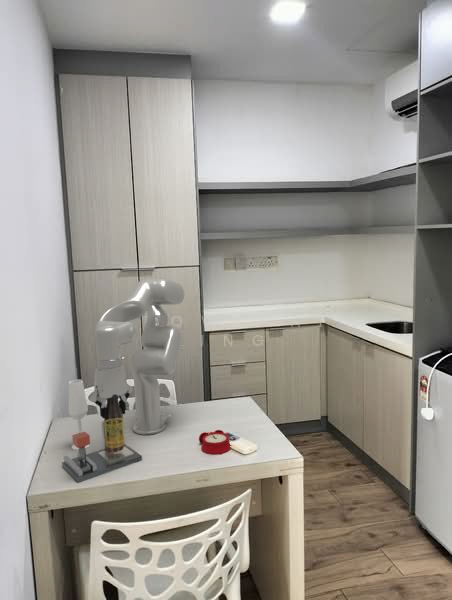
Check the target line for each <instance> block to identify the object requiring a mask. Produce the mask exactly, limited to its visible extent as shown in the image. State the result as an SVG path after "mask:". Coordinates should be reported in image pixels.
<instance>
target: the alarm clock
mask: <svg viewBox="0 0 452 600" xmlns="http://www.w3.org/2000/svg"><path fill="white" fill-rule="evenodd" d="M198 441H199V443H200V444H201V445H200V446H201V447H200V448H201V451H202V452H203V453H205V454H209V455H219V456H220V455H223V454H224V453H227V452H229V451H230V450H231V448H232V444H231V443H230V437H229V435H228V434H227V433H225V432H224V431H223V430H221V429H216V430H215V431H209V432H205V431H204V432H201V433H200V434H199V437H198ZM230 444H231V445H230ZM230 446H231V447H230Z"/></svg>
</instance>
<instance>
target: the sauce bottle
mask: <svg viewBox="0 0 452 600" xmlns="http://www.w3.org/2000/svg"><path fill="white" fill-rule="evenodd" d="M105 407H106V408H107V419H104V418H103V419H104V420H103V421H104V426H105V442H106V450H107V451H108V452H118V451H121V450H122V449H123V448H124V444H125V430H124V428H125V427H124V417H123V416H124V414H122V409H121V408H120V406H119V396H117V394H114V395H112V397H111V398H108V399H107V400H106V406H105Z"/></svg>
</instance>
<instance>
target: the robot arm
mask: <svg viewBox="0 0 452 600" xmlns="http://www.w3.org/2000/svg"><path fill="white" fill-rule="evenodd" d="M184 299H185V289H184V287H183V285H182V284H180V283H178V282H176V281H173V280H170V279H166V278H145V279H141V280H140V281H138V282H137V284H136V285H135V287H134V288H133V289H132V291H131V292H130V294H129V295H128V296H127V298H126V300H124V301H122V302H120V303H118V304H117V305H115V306H112V307H111V308H110V309H108V310H106V311H105V312H104V313H103V314H102V316H101V317H100V319H99V320H97V323H96V326H94V327H95V328H94V337H95V345H96V357H97V368H95V371H94V379H93V380H94V381H93V382H94V383H93V384H94V386H93V388H94V390H93V392H92V394H91V395H90V397H89V398H88V399H89V401H90V402H92V403H94V404H95V405H96V406H98V407H99V414H100V417H101V418H103V419H107V408H106V407H107V406H106V405H107V399H108V398H111V397H112V395H114V394H117V396H118V399H119V400H118V403H119V406H120V408H121V409H122V414H123V415H125V414H126V410H127V406H126V402H127V400H128V398H129V397H130V396H131V394H132V392H133V391H134V400H135V401H134V402H135V403H134V404H135V405H134V406H135V418H136V423H135V424H134V425H133V427H132V431H133V433H135V434H137V435H143V436H147V435H149V436H150V435H155V434H158V433H161V432H162V431H164V430H165V429H166V423H165V422H166V421H168V420H171V419H173V415H172V414H171V413H170V414H166V413H163V414H162V413H161V412H162V410H161V408H162V407H161V395H160V394H161V393H160V382H159V380H158V378H157V376H169V375H172V374H173V373H174V371H175V368H176V365H177V362H178V361H177V360H178V357H179V354H180V349H181V345H182V333H181V330H180V329H179V328H178V327H176V326H174V325H173V326H172V325H168V322H169V317H168V314H167V312H166V311H165V310H164V309H163V307H162V305H172V306H173V305H174V306H175V305H180V304H182V302H183V301H184ZM146 313H147V316H146V321H145V324H144V327H143V331H142V335H141V337H140V343H141V346H142V347H143V348H141V349H137V350H135V351H133V353H131V355H130V357H129V366H130V370H131V372H132V373H131V374H132V378H133V386H134V387H132V386H131V385H129V383H128V380H127V376H126V375H127V374H126V371H125V366H124V365H123V363H122V362H125V360H126V359H125V357H124V356H122V355H121V345H126V344H130V343H132V342H134V341H135V339H136V337H137V335H138V331H137V330H138V329H137V327H136V325H135V324H134V323H132V322H131V321H134V320H136V319H138V318H139V319H140V318H141V317H143V316H144V315H145V314H146ZM129 321H130V322H129ZM97 398H99V399H97Z"/></svg>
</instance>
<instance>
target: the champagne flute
mask: <svg viewBox="0 0 452 600" xmlns="http://www.w3.org/2000/svg"><path fill="white" fill-rule="evenodd" d="M84 385H85V384H84V381H83V380H82V379H74V380H70V381H69V382H68V414H69V416H70V417H71V418H72V419H74V420H75V421H77V434H78V433H81V432H83V431H82V421H81V420H83V418H85V416H86V415H87V413H88V411H89V407H88V403H87V402H88V401H87V397H86V392H85V391H86V390H85V386H84ZM90 446H91V442H90V445H87V446H85V449H87V448H88V447H90ZM71 449H73V450H79V448H77V447H76V446H75V445H74V444H73V443H72V445H71Z"/></svg>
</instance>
